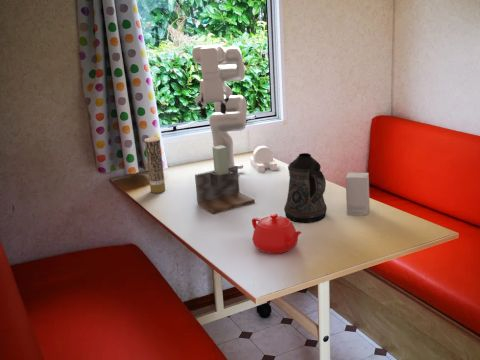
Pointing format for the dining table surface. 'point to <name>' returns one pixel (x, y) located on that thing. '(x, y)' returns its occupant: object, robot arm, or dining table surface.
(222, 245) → the dining table surface
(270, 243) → the teapot
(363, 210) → the skincare box
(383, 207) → the dining table surface
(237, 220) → the dining table surface
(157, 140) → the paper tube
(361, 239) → the dining table surface
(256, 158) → the white slotted holder
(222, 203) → the bracket stand
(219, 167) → the rail post
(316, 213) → the beer stein
